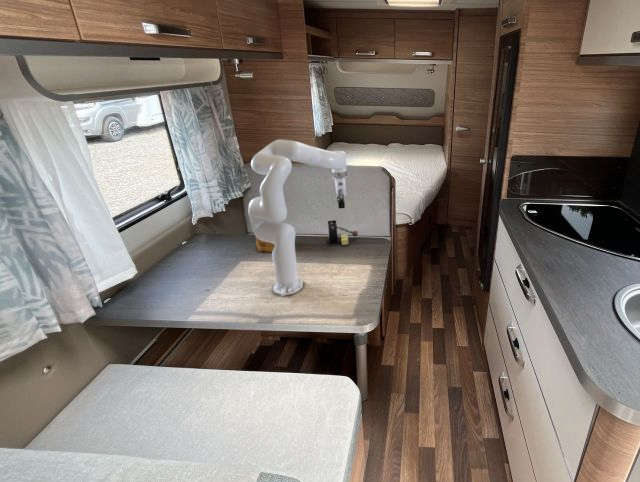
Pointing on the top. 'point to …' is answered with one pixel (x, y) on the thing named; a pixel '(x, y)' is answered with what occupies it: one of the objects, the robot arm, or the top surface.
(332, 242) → the slicer
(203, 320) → the top surface
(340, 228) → the lever
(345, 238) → the butter
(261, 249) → the coffee package
